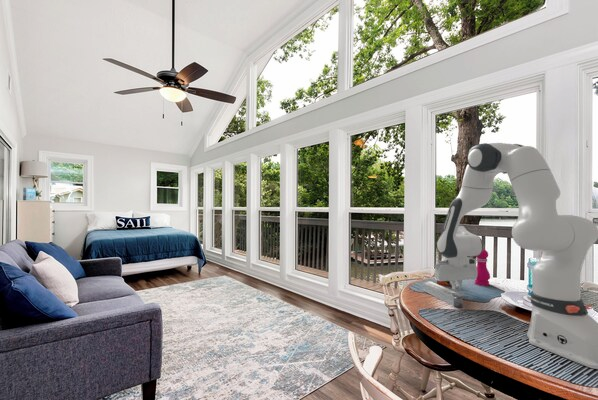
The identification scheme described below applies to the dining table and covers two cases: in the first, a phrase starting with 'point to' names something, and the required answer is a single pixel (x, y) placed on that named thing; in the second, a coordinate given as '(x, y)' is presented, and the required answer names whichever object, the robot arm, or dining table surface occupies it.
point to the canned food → (444, 283)
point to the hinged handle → (448, 290)
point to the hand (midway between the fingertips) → (456, 289)
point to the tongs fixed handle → (443, 295)
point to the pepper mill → (482, 269)
